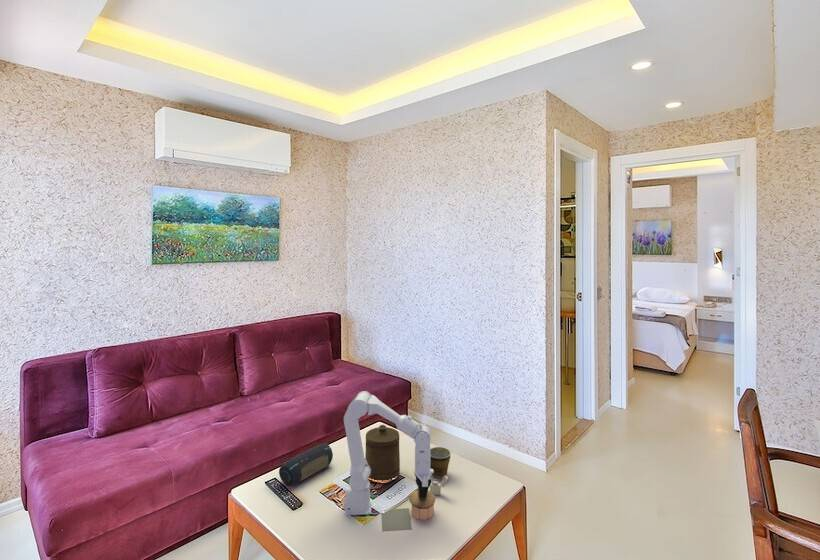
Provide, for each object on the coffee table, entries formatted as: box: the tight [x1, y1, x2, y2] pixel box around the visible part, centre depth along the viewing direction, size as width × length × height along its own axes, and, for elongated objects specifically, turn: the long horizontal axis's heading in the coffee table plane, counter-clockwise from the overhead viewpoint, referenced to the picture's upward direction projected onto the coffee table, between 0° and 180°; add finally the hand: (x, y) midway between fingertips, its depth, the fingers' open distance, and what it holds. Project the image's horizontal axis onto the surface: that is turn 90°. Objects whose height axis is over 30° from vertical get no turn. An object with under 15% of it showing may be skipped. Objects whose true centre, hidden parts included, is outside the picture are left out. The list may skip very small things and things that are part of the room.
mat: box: [380, 507, 413, 532], centre depth 152 cm, size 10×12×1 cm
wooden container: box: [364, 424, 401, 481], centre depth 182 cm, size 15×15×22 cm
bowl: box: [410, 503, 435, 520], centre depth 156 cm, size 8×8×4 cm
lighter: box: [429, 475, 449, 496], centre depth 167 cm, size 7×2×8 cm, turn 81°
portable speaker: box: [278, 443, 334, 486], centre depth 182 cm, size 25×10×10 cm, turn 144°
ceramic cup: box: [430, 446, 452, 479], centre depth 182 cm, size 13×10×10 cm
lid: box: [408, 487, 436, 508], centre depth 156 cm, size 10×10×5 cm
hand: (422, 494), depth 156 cm, fingers closed on lid, 3 cm apart
